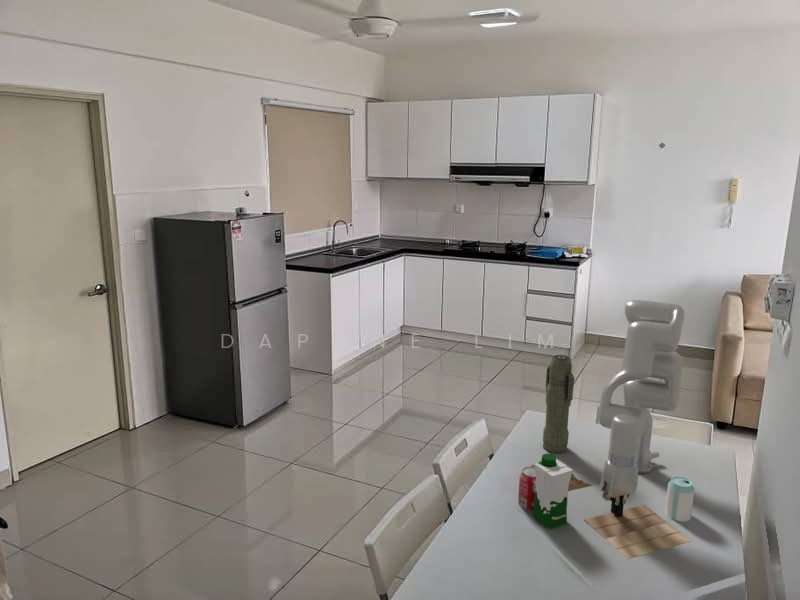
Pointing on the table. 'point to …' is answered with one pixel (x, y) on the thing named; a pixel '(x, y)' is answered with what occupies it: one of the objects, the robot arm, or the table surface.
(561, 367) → the thermos
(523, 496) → the soda can
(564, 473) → the milk carton
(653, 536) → the oak board
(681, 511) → the can
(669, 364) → the robot arm
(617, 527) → the plank
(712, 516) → the table surface
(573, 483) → the wooden fragment
